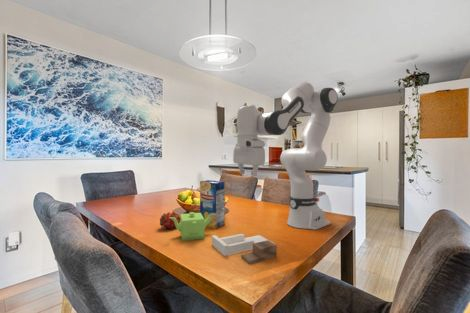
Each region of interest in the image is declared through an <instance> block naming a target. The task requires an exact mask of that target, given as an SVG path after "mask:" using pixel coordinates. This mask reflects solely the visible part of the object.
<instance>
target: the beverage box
mask: <svg viewBox="0 0 470 313" xmlns="http://www.w3.org/2000/svg"><path fill="white" fill-rule="evenodd" d="M225 185H226V182H225V181H221V180H214V179H213V180H211V179H208V180H207V179H206V180H201V181H199V213H201V214H202V216H203V218H204V221H205V220H206V219H207V218H208V217H211V220H210V221H209V223H208V224H207V226H206V227H210V228H213V229H218V228H221V227H222V226H225V225H226V222H225V221H226V210H225V208H226V204H225V203H226V202H225V201H226V194H225V193H226V189H225V187H226V186H225Z"/></svg>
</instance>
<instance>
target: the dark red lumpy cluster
mask: <svg viewBox="0 0 470 313" xmlns="http://www.w3.org/2000/svg"><path fill="white" fill-rule="evenodd" d="M160 216H161V217H160V218H159V226H160V227H161V228H164V229H165V230H168V229H174V228H176V226H175V223H174V221H173V220H172V219H170V217H175V218H176V219H177V221H178V223H179V224H180V223H181V221H180V214H179V213H175V211H173V212H170V211H168V212H166V213H163V214H162V215H160Z"/></svg>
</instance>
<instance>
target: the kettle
mask: <svg viewBox="0 0 470 313" xmlns="http://www.w3.org/2000/svg"><path fill="white" fill-rule="evenodd" d="M179 217H180V222H179V223H178V221H177V219H176V218H175V217H170V219H172V220H173V221H174V223H175V226H176V227H175V228H176V229H177V231H178V232H180V236H181V241H182V242H183V241H184V242H186V241H192V240H193V241H194V240H202V239H203V240H204V239H205V231H206V230H205V229H206V227H208V226H207V224H208V223H209V221H210V220H211V217H208V218H207V219H206V220H205V221H204V218H203V216H202V214H201V213H200V212H193V211H191V212H189V213H180V214H179Z"/></svg>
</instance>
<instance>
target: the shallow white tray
mask: <svg viewBox="0 0 470 313" xmlns="http://www.w3.org/2000/svg"><path fill="white" fill-rule="evenodd" d="M267 240H268V241H270V242H272V243H274V242H273V241H271V240H270V239H267V238H266V237H264V236H262V235H260V234H258V235H257V234H256V235H253V236H247V237H245V234H244V233H240V234H233V235H228V236H223V237H218V235H216V234H214V235H211V246H212V247H214V249H215V250H217V251H218V252H219V253H220V255H222V256H224V257H226V256H227V257H228V256H230V255H231V256H232V255H235V254H239V253H243V252H249V251H251V250H252V251H253V243H258V242H262V241H267Z"/></svg>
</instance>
